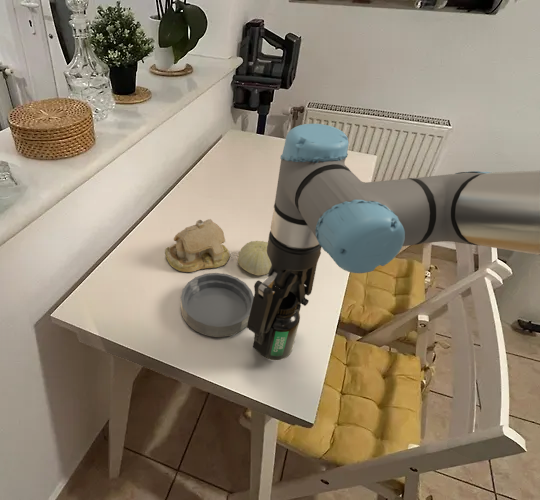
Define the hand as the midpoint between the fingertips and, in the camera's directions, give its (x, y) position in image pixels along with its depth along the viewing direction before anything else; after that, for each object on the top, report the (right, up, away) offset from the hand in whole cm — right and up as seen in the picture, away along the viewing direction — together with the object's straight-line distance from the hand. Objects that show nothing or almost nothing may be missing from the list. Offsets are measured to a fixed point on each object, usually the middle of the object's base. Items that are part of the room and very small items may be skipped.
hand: (274, 338), depth 75 cm
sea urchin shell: (0, +12, +21) cm, 24 cm away
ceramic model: (-13, +14, +23) cm, 30 cm away
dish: (-9, +4, +10) cm, 15 cm away
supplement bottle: (0, -2, +1) cm, 2 cm away
